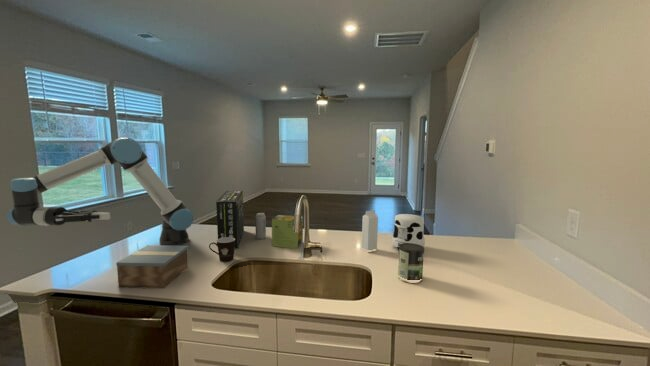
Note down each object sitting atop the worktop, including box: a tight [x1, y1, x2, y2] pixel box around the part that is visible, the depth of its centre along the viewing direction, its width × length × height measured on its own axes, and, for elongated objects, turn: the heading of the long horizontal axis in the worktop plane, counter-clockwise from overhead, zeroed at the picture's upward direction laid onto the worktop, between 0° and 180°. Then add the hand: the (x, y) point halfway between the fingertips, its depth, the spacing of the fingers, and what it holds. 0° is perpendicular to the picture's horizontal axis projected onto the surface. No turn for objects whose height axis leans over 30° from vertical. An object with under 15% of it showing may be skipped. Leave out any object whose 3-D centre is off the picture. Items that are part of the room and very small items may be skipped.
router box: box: [215, 190, 245, 250], centre depth 177 cm, size 36×11×27 cm, turn 10°
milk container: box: [391, 213, 426, 250], centre depth 165 cm, size 17×17×18 cm
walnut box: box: [116, 249, 189, 289], centre depth 127 cm, size 18×20×9 cm
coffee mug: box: [208, 237, 235, 263], centre depth 147 cm, size 12×9×10 cm
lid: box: [116, 244, 189, 267], centre depth 126 cm, size 18×20×1 cm
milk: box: [361, 210, 379, 250], centre depth 161 cm, size 6×6×22 cm
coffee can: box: [397, 243, 425, 280], centre depth 128 cm, size 10×10×14 cm
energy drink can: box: [254, 212, 267, 240], centre depth 181 cm, size 6×6×15 cm
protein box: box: [271, 214, 304, 249], centre depth 170 cm, size 10×15×16 cm
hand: (108, 216), depth 124 cm, fingers closed
